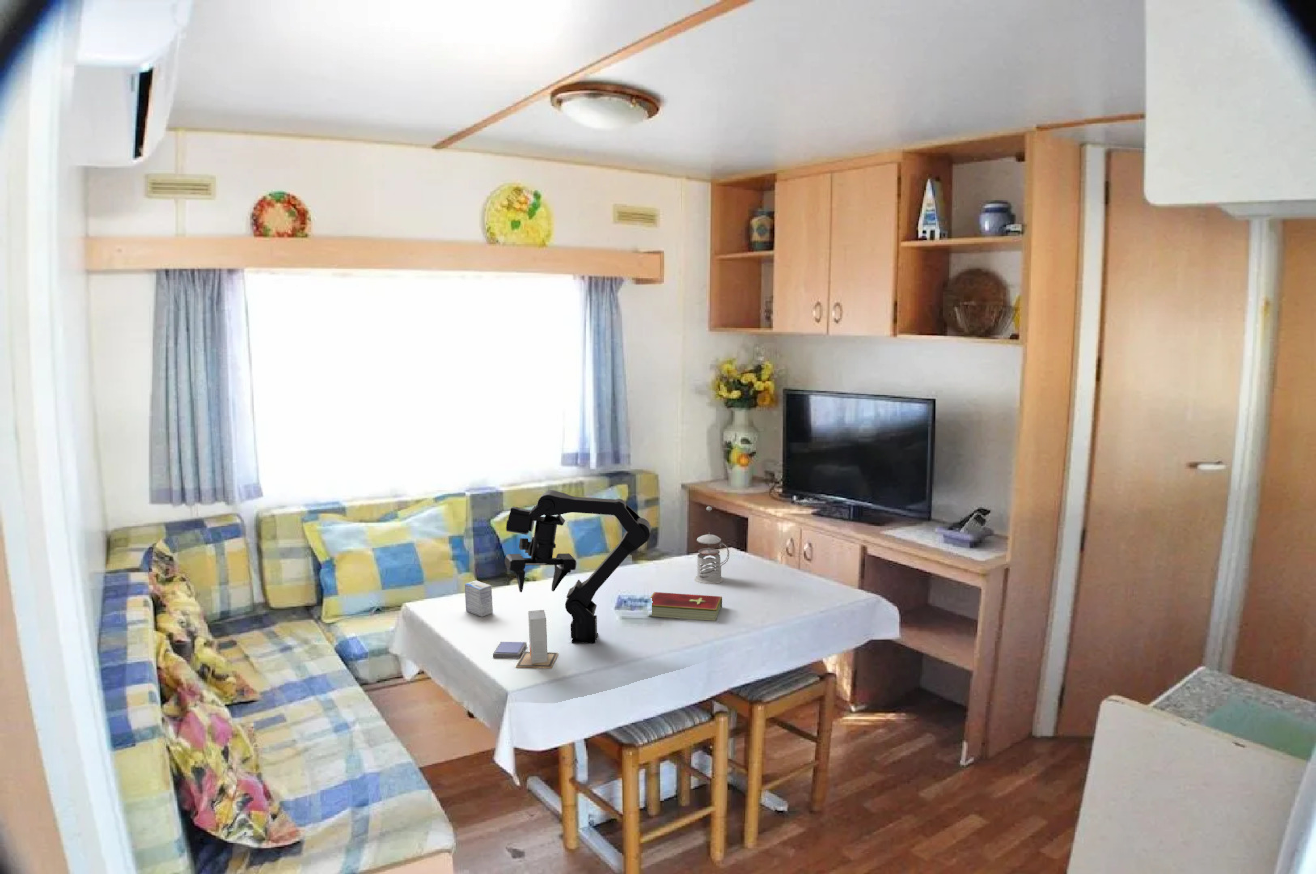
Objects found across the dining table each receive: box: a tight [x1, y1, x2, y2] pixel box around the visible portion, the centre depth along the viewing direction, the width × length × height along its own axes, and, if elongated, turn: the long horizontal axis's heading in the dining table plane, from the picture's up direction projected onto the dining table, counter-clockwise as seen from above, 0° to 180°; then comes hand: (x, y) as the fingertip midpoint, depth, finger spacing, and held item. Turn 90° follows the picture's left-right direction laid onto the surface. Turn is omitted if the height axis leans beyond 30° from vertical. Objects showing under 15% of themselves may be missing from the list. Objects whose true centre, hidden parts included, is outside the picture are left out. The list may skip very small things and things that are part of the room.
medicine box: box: [464, 580, 494, 617], centre depth 251 cm, size 8×4×9 cm, turn 47°
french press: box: [694, 506, 730, 585], centre depth 279 cm, size 10×12×25 cm
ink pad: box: [492, 641, 527, 659], centre depth 222 cm, size 7×8×1 cm
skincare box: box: [527, 609, 548, 664], centre depth 216 cm, size 6×4×12 cm
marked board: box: [515, 651, 559, 669], centre depth 216 cm, size 9×9×1 cm
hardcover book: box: [649, 591, 723, 622], centre depth 251 cm, size 12×21×4 cm, turn 78°
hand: (536, 591), depth 230 cm, fingers open, 9 cm apart
